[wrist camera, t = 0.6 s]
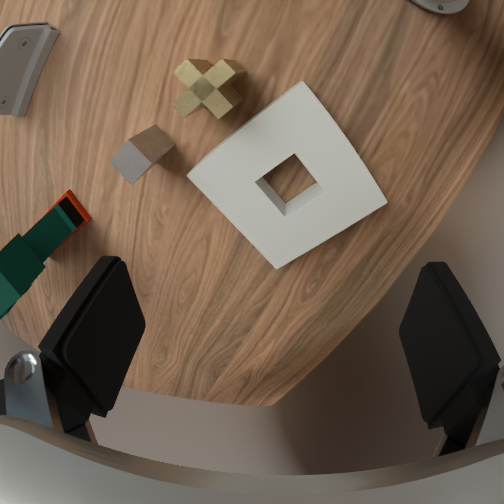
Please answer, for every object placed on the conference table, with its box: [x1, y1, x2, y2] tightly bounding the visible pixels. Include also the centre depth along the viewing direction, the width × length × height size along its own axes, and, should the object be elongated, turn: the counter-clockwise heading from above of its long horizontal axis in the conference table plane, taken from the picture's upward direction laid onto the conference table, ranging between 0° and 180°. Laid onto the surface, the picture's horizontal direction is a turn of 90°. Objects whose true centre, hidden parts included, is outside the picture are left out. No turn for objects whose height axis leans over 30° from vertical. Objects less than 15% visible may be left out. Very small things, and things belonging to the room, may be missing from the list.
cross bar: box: [172, 59, 246, 119], centre depth 29 cm, size 7×7×8 cm
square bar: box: [110, 125, 175, 185], centre depth 34 cm, size 4×4×8 cm
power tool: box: [0, 190, 91, 319], centre depth 42 cm, size 32×7×20 cm, turn 120°
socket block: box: [187, 81, 388, 269], centre depth 37 cm, size 18×18×4 cm
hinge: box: [0, 22, 59, 117], centre depth 27 cm, size 17×5×10 cm, turn 141°
